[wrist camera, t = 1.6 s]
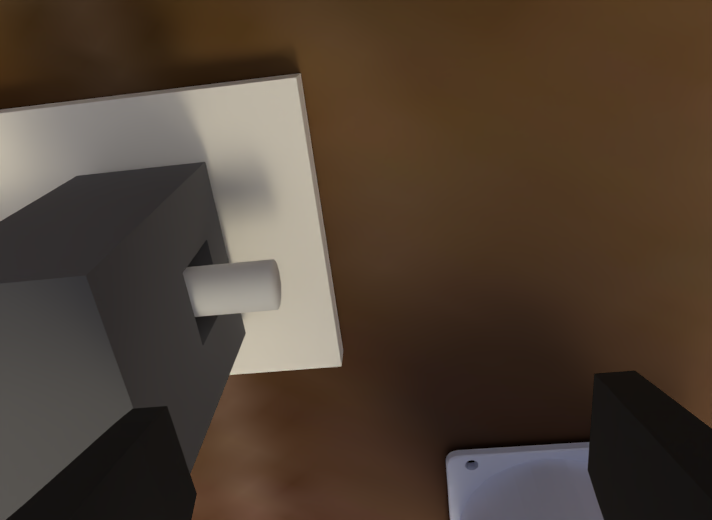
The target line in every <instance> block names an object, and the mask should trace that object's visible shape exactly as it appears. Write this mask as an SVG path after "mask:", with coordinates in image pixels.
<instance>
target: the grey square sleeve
mask: <svg viewBox="0 0 712 520" xmlns="http://www.w3.org/2000/svg"><path fill="white" fill-rule="evenodd" d="M226 263H229V260H228V256H227V252H226V247H225V243H224V239H223V235H222V230H221V226H220V222H219V218H218V214H217V209H216V205H215V201H214V197H213V192H212V188H211V184H210V180H209V175H208V171H207V167H206V163H205V162H198V163H189V164H180V165H171V166H162V167H153V168H143V169H134V170H125V171H116V172H107V173H98V174H89V175H79V176H76V177H74V178H72V179H71V180H69V181H67V182H66V183H64V184H62V185H60V186H59V187H57V188H55V189H54V190H52V191H50V192H49V193H47V194H45V195H44V196H42V197H40V198H39V199H37V200H35V201H34V202H32V203H30V204H29V205H27V206H25V207H24V208H22V209H20V210H18V211H17V212H15V213H13V214H12V215H10V216H8V217H7V218H5V219H3V220H2V221H0V520H6V519H7V518H8V517H9V516H11V515H12V514H13V513H14V512H15V511H17V510H18V509H19V508H20V507H21V506H23V505H24V504H25V503H26V502H27V501H28V500H29V499H30V498H32V497H33V496H34V495H35V494H36V493H37V492H38V491H39V490H41V489H42V488H43V487H44V486H45V485H46V484H47V483H48V482H50V481H51V480H52V479H53V478H54V477H55V476H56V475H57V474H59V473H60V472H61V471H62V470H63V469H64V468H65V467H66V466H68V465H69V464H70V463H71V462H72V461H73V460H74V459H75V458H76V457H78V456H79V455H80V454H81V453H82V452H83V451H84V450H85V449H86V448H88V447H89V446H90V445H91V444H92V443H93V442H94V441H95V440H96V439H98V438H99V437H100V436H101V435H102V434H103V433H104V432H105V431H107V430H108V429H109V428H110V427H111V426H112V425H113V424H115V423H116V422H117V421H118V420H119V419H120V418H122V417H123V416H124V415H125V414H127V413H128V412H129V411H130V410H132V409H133V408H146V407H159V406H167V407H168V410H169V413H170V416H171V419H172V422H173V425H174V428H175V431H176V434H177V437H178V440H179V443H180V446H181V449H182V452H183V455H184V458H185V461H186V464H187V467H188V470H189V473H191V470H192V468H193V465H194V463H195V460H196V458H197V455H198V453H199V450H200V448H201V445H202V443H203V440H204V438H205V435H206V433H207V430H208V428H209V425H210V423H211V420H212V417H213V415H214V412H215V410H216V407H217V405H218V402H219V400H220V397H221V395H222V392H223V390H224V387H225V385H226V382H227V380H228V377H229V375H230V372H231V370H232V367H233V365H234V362H235V359H236V357H237V354H238V352H239V349H240V347H241V344H242V342H243V339H244V337H245V334H246V332H245V328H244V324H243V319H242V315H241V313H235V314H224V315H212V316H200V317H195V316H194V312H193V309H192V305H191V301H190V298H189V294H188V291H187V287H186V283H185V280H184V276H183V272H184V270H185V269H186V268H187V267H194V266H205V265H215V264H226Z"/></svg>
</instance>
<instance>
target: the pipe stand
mask: <svg viewBox="0 0 712 520" xmlns="http://www.w3.org/2000/svg"><path fill="white" fill-rule="evenodd" d="M198 162H205V163H206V167H207V171H208V175H209V180H210V184H211V188H212V192H213V197H214V201H215V205H216V209H217V214H218V218H219V222H220V226H221V230H222V235H223V239H224V243H225V247H226V252H227V256H228V260H229V263H226V264H215V265H205V266H194V267H187V268H186V269H185V270H184V272H183V276H184V280H185V283H186V287H187V291H188V294H189V298H190V301H191V305H192V309H193V312H194V316H195V317H200V316H212V315H224V314H235V313H241V315H242V319H243V324H244V328H245V332H246V334H245V337H244V339H243V342H242V344H241V347H240V349H239V352H238V354H237V357H236V359H235V362H234V365H233V367H232V370H231V372H230V375H235V374H248V373H261V372H274V371H287V370H300V369H313V368H326V367H340V366H342V358H343V346H342V339H341V333H340V326H339V320H338V313H337V307H336V300H335V293H334V287H333V280H332V274H331V267H330V261H329V254H328V248H327V241H326V235H325V228H324V222H323V215H322V209H321V202H320V196H319V189H318V183H317V176H316V170H315V163H314V157H313V150H312V144H311V137H310V131H309V124H308V118H307V111H306V105H305V98H304V92H303V85H302V79H301V73H297V74H289V75H281V76H272V77H264V78H256V79H248V80H239V81H231V82H223V83H215V84H206V85H198V86H190V87H182V88H174V89H165V90H157V91H149V92H141V93H132V94H124V95H116V96H108V97H99V98H91V99H83V100H75V101H67V102H58V103H50V104H42V105H34V106H25V107H17V108H9V109H1V110H0V221H2V220H3V219H5V218H7V217H8V216H10V215H12V214H13V213H15V212H17V211H18V210H20V209H22V208H24V207H25V206H27V205H29V204H30V203H32V202H34V201H35V200H37V199H39V198H40V197H42V196H44V195H45V194H47V193H49V192H50V191H52V190H54V189H55V188H57V187H59V186H60V185H62V184H64V183H66V182H67V181H69V180H71V179H72V178H74V177H76V176H79V175H89V174H98V173H107V172H116V171H125V170H134V169H143V168H153V167H162V166H171V165H180V164H189V163H198Z"/></svg>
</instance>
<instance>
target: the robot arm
mask: <svg viewBox="0 0 712 520" xmlns="http://www.w3.org/2000/svg"><path fill="white" fill-rule="evenodd" d="M470 460H474V462H472V463H468V461H470ZM446 473H447V487H448V502H449V516H450V520H712V429H711V428H710V427H709V426H707V425H706V424H705V423H703V422H702V421H701V420H699V419H698V418H697V417H695V416H694V415H693V414H692V413H690V412H689V411H688V410H686V409H685V408H684V407H682V406H681V405H680V404H678V403H677V402H676V401H674V400H673V399H672V398H670V397H669V396H668V395H666V394H665V393H664V392H663V391H661V390H660V389H659V388H657V387H656V386H655V385H653V384H652V383H651V382H649V381H648V380H647V379H645V378H644V377H642V376H641V375H640V374H638V373H637V372H636V371H625V372H611V373H598V374H595V375H594V388H593V402H592V415H591V429H590V442H579V443H563V444H547V445H531V446H515V447H499V448H483V449H467V450H456V451H452V452H450V453H449V454H448V455H447V456H446ZM195 499H196V491H195V488H194V485H193V482H192V479H191V476H190V473H189V470H188V467H187V464H186V461H185V458H184V455H183V452H182V449H181V446H180V443H179V440H178V437H177V434H176V431H175V428H174V425H173V422H172V419H171V416H170V413H169V410H168V407H167V406H159V407H146V408H133V409H132V410H130V411H129V412H128V413H127V414H125V415H124V416H123V417H122V418H120V419H119V420H118V421H117V422H116V423H115V424H113V425H112V426H111V427H110V428H109V429H108V430H107V431H105V432H104V433H103V434H102V435H101V436H100V437H99V438H98V439H96V440H95V441H94V442H93V443H92V444H91V445H90V446H89V447H88V448H86V449H85V450H84V451H83V452H82V453H81V454H80V455H79V456H78V457H76V458H75V459H74V460H73V461H72V462H71V463H70V464H69V465H68V466H66V467H65V468H64V469H63V470H62V471H61V472H60V473H59V474H57V475H56V476H55V477H54V478H53V479H52V480H51V481H50V482H48V483H47V484H46V485H45V486H44V487H43V488H42V489H41V490H39V491H38V492H37V493H36V494H35V495H34V496H33V497H32V498H30V499H29V500H28V501H27V502H26V503H25V504H24V505H23V506H21V507H20V508H19V509H18V510H17V511H15V512H14V513H13V514H12V515H11V516H9V517H8V518H7V519H6V520H191V518H192V514H193V509H194V504H195Z"/></svg>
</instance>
